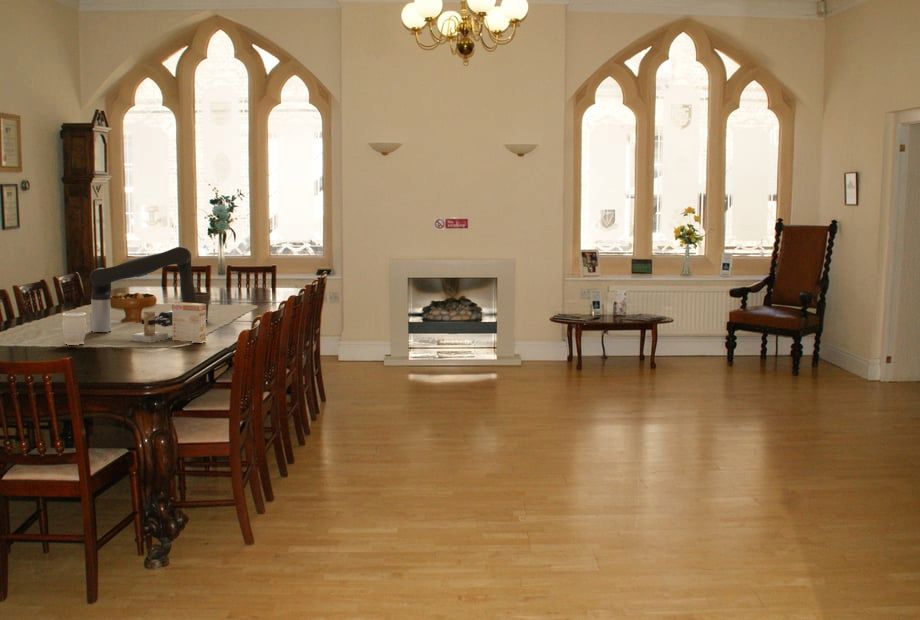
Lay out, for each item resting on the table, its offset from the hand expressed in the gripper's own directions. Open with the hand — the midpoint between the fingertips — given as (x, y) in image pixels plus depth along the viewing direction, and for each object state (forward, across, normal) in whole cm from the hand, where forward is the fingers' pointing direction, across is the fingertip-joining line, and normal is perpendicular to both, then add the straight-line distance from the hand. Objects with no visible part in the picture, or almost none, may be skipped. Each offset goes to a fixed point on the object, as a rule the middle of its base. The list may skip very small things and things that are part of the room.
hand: (145, 322), depth 435 cm
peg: (-3, 0, +9) cm, 9 cm away
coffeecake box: (-13, +16, +10) cm, 23 cm away
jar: (+22, -23, +10) cm, 34 cm away
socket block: (-3, 0, +10) cm, 10 cm away
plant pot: (-70, -28, +11) cm, 76 cm away
